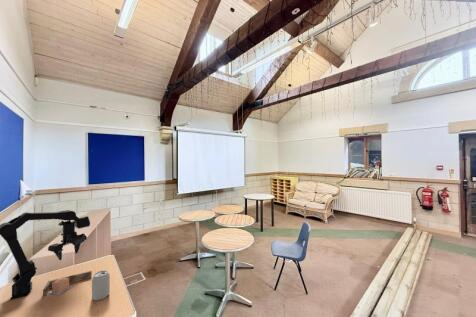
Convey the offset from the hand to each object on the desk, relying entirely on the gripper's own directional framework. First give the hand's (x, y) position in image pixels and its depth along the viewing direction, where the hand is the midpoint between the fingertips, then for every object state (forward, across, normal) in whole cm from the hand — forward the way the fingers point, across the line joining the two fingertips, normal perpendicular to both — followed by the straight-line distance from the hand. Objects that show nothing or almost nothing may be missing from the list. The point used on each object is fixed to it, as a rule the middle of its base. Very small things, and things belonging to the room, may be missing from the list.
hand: (68, 256), depth 121 cm
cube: (+12, -11, -10) cm, 19 cm away
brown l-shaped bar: (+12, -7, -10) cm, 17 cm away
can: (+12, -11, -37) cm, 40 cm away
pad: (+12, -11, -10) cm, 19 cm away
